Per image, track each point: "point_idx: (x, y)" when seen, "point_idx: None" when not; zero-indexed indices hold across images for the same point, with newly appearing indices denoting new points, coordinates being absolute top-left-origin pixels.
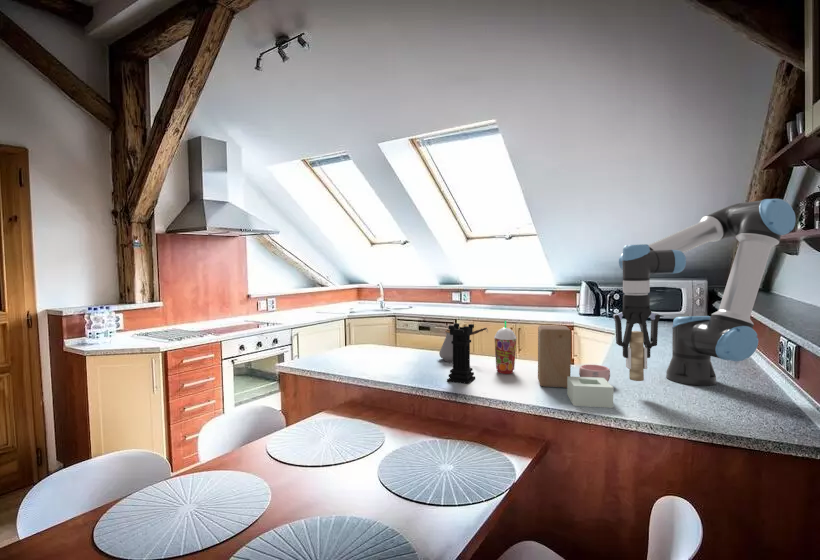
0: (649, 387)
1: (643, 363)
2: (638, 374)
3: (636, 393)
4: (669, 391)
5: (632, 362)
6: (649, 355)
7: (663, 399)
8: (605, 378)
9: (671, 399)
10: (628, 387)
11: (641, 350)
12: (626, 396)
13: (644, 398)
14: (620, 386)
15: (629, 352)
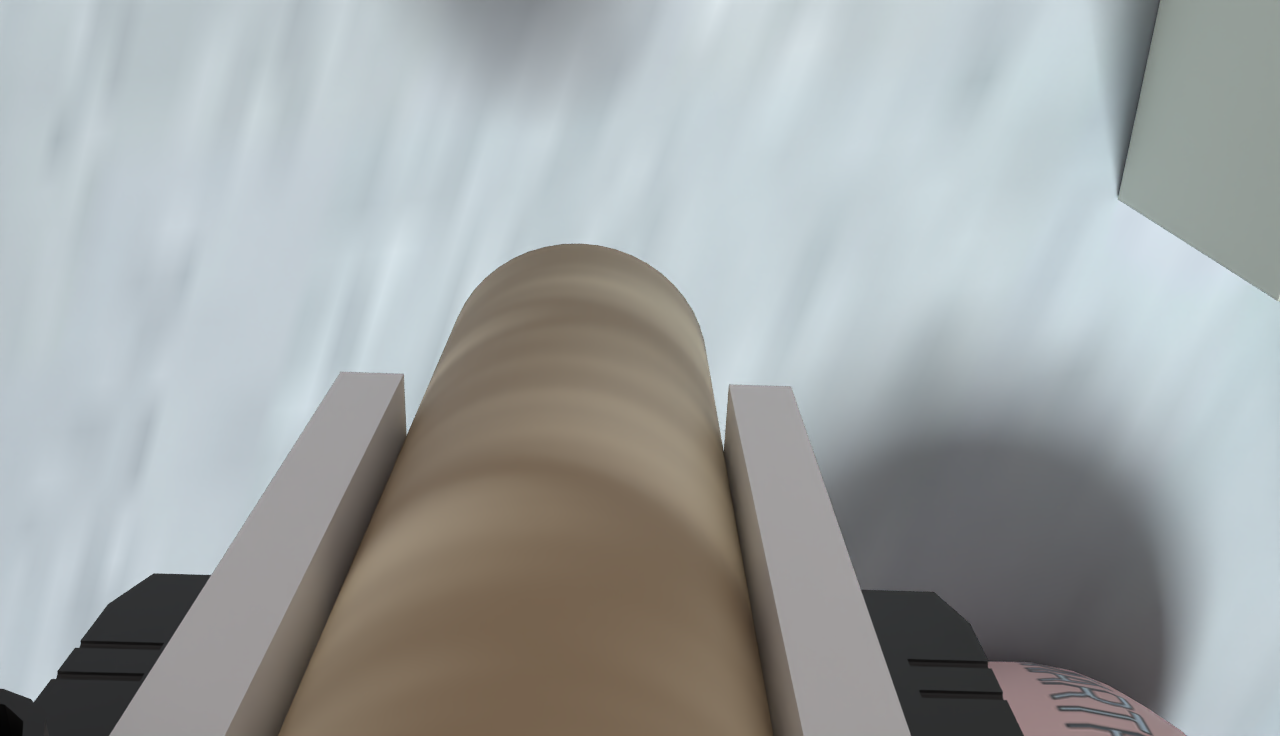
0: None
1: (393, 471)
2: (576, 286)
3: None
4: (43, 558)
5: (705, 466)
6: (125, 623)
7: (224, 159)
8: None
9: (103, 173)
10: None
11: (384, 655)
12: (745, 252)
13: (501, 178)
14: None
15: (849, 649)
